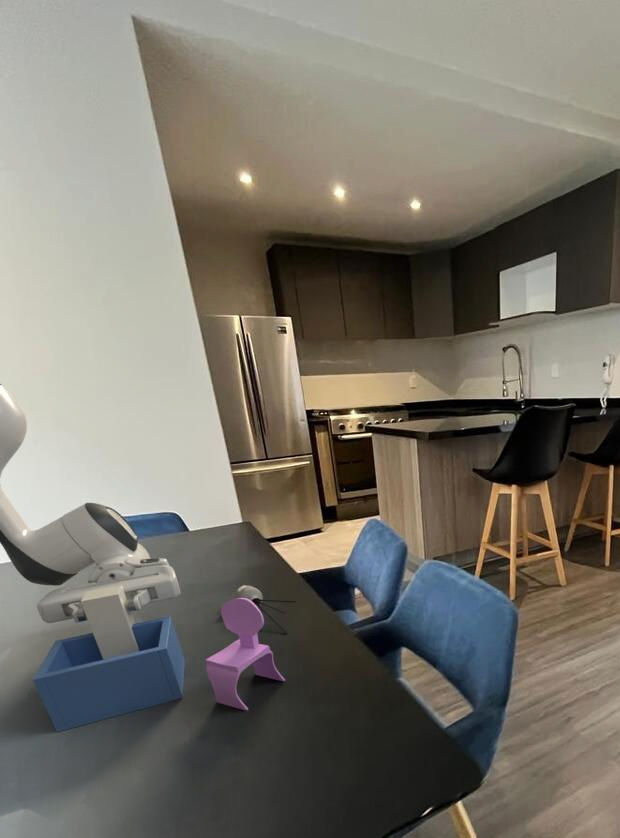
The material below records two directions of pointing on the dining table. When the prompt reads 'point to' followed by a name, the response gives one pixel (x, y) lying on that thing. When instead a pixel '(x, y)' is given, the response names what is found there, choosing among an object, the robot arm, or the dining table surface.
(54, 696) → the box
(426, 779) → the dining table surface
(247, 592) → the reed diffuser
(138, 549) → the robot arm
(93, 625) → the cream rectangular block
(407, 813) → the dining table surface
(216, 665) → the toy chair
